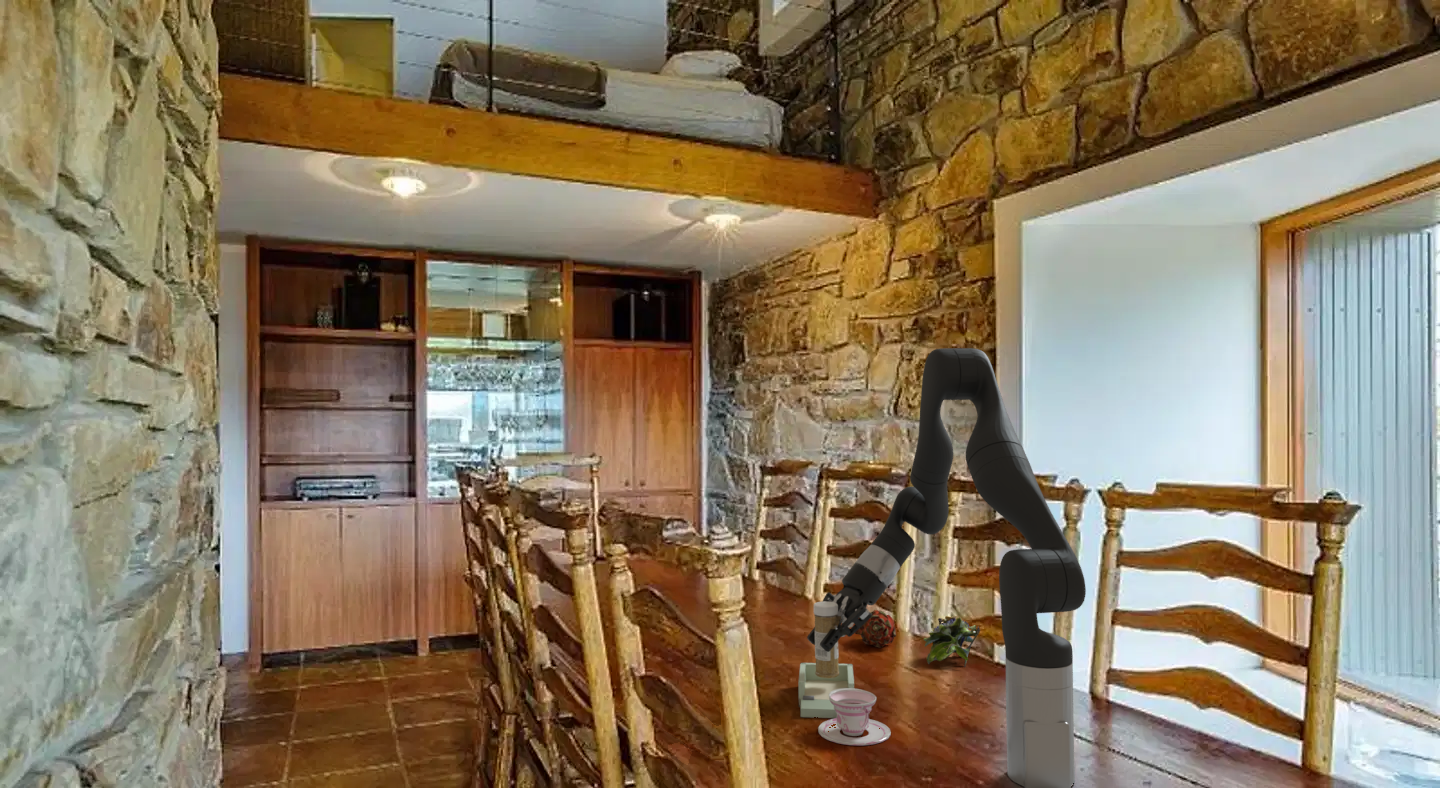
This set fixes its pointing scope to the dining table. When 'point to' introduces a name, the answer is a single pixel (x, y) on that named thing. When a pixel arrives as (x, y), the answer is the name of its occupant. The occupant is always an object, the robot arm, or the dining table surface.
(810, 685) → the crate
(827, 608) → the sprinkles bottle
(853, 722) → the teacup
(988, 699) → the dining table surface
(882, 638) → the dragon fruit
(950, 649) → the passion flower
